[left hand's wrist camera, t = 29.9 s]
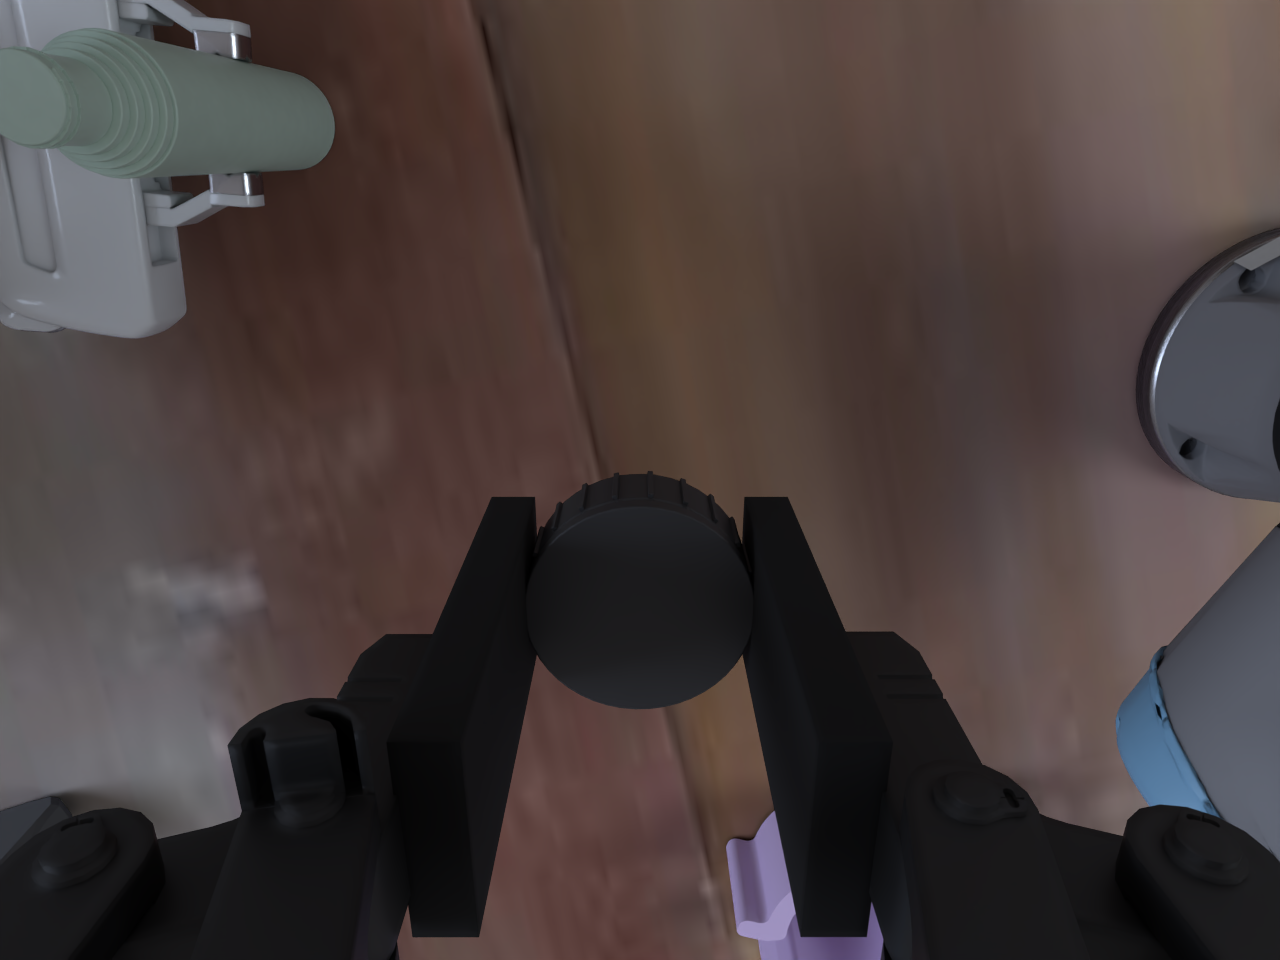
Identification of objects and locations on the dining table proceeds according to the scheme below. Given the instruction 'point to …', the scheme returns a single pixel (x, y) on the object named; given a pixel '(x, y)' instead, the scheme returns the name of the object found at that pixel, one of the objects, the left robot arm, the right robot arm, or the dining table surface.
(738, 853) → the clip
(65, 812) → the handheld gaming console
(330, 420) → the dining table surface
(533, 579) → the cap
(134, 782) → the dining table surface
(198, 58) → the bottle
